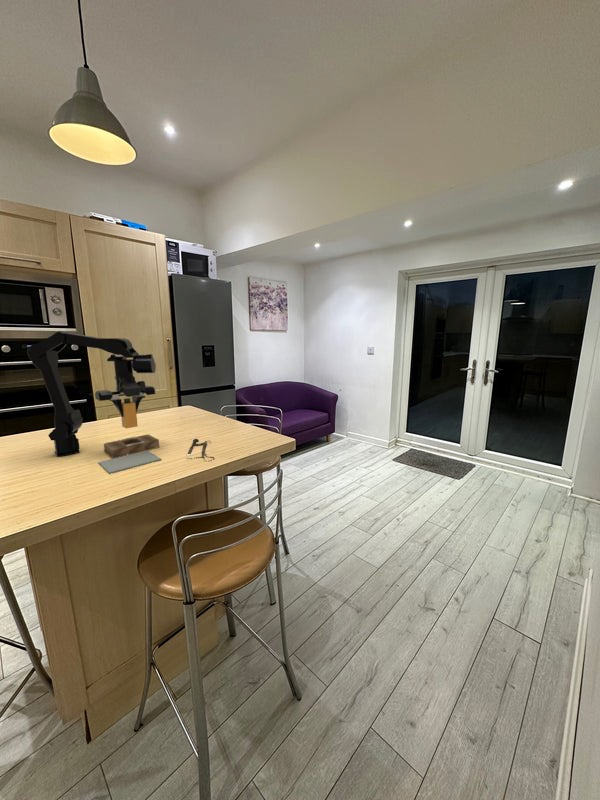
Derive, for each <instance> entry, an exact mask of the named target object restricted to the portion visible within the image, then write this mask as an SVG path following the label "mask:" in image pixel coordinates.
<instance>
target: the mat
mask: <svg viewBox="0 0 600 800" xmlns="http://www.w3.org/2000/svg"><path fill="white" fill-rule="evenodd" d="M159 461H162V458H161V457H159V456H158V455H156V454H155V453H153V452H151V451H149V450H145V451H141V452H137V453H133V454H129V455H124V456H120V457H116V458H110V459H105V460H102V461H98V463H97V464H98V465H99V466H101V468H102V469H104V470H105V472H107V474H108V475H111V473H112V474H115V473H119V472H122V470H123V471H127V470H130V469H134V468H137V466H138V467H141V465H142V466H146V465H148V463H149V464H152V462H153V463H156V462H159ZM133 467H134V468H133ZM126 469H127V470H126Z"/></svg>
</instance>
